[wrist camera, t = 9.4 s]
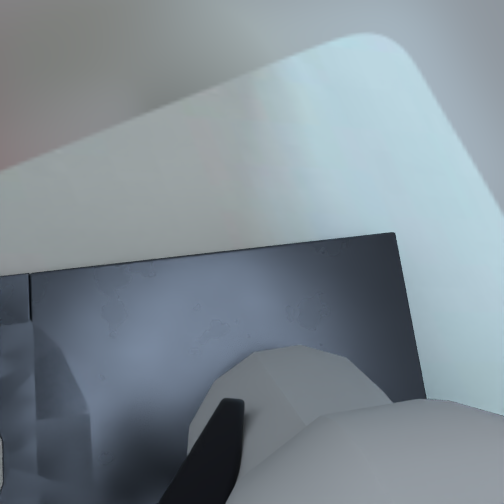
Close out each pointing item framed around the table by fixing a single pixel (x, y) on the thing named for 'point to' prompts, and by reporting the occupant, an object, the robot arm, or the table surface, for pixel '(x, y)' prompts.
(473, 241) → the table surface
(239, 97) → the table surface
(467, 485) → the white rounded peg
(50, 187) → the table surface
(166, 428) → the plate
